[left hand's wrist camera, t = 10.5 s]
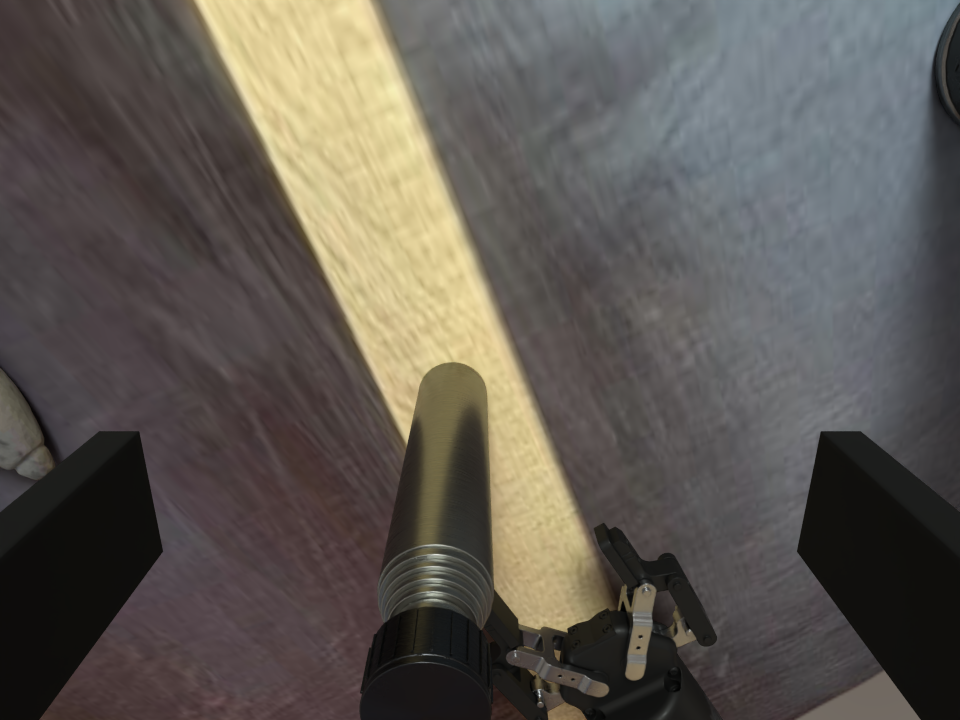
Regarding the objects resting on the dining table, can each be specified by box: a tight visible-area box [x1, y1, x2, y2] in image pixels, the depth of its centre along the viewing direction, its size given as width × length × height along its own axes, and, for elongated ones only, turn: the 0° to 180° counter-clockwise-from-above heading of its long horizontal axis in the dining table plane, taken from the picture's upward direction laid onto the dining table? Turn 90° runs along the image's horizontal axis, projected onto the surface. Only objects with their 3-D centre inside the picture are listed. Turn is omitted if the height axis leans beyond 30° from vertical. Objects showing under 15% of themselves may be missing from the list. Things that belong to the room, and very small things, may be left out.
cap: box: [360, 606, 493, 720], centre depth 22 cm, size 4×4×2 cm
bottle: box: [377, 363, 494, 630], centre depth 32 cm, size 5×5×25 cm
